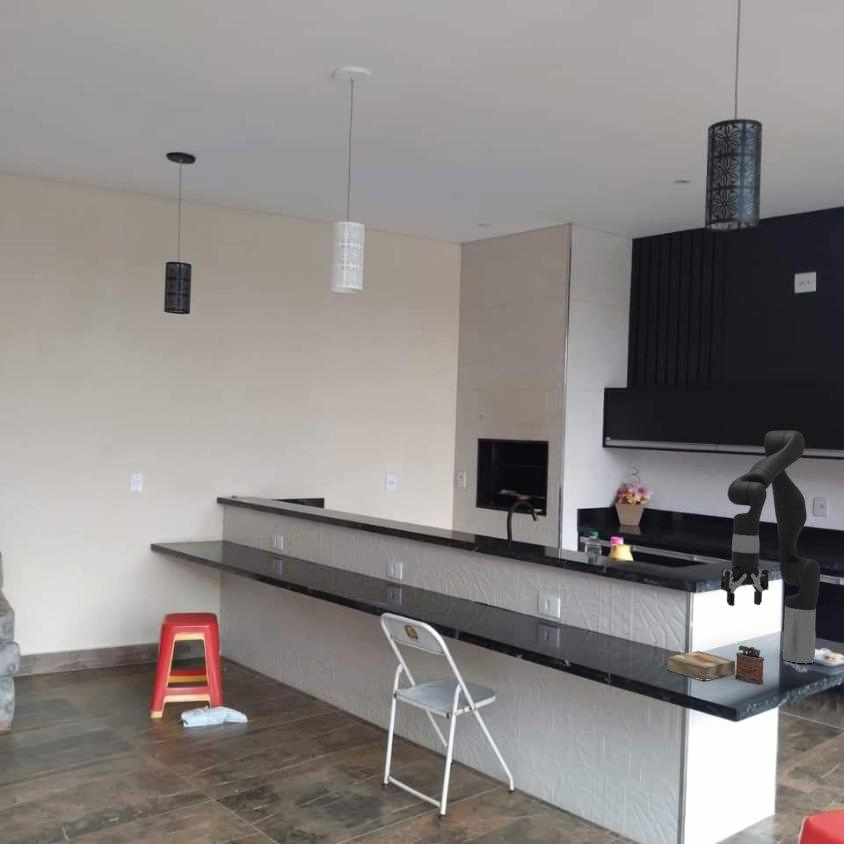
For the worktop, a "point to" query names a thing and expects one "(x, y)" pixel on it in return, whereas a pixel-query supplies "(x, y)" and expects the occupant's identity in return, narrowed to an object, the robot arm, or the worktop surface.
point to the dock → (701, 665)
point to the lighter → (749, 665)
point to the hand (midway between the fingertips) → (744, 605)
